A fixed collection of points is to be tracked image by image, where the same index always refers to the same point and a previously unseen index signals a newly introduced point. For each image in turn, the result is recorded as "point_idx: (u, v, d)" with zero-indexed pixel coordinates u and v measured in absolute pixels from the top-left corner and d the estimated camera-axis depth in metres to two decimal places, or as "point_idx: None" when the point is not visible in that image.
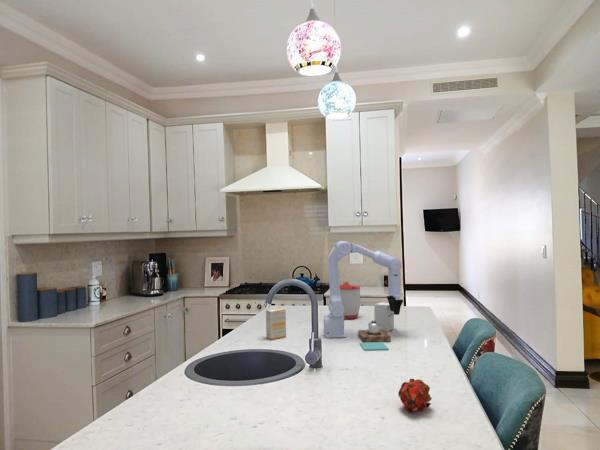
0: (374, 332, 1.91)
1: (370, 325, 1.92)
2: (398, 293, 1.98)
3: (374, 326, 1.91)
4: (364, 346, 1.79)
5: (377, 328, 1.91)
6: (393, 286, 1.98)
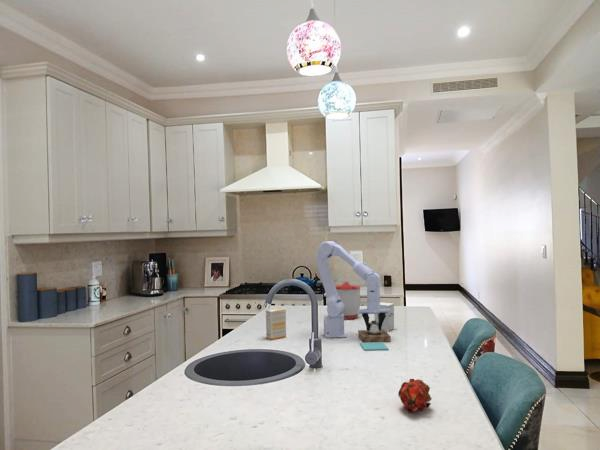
0: (374, 332, 1.91)
1: (370, 325, 1.92)
2: (368, 309, 1.92)
3: (374, 326, 1.91)
4: (364, 346, 1.79)
5: (377, 328, 1.91)
6: None
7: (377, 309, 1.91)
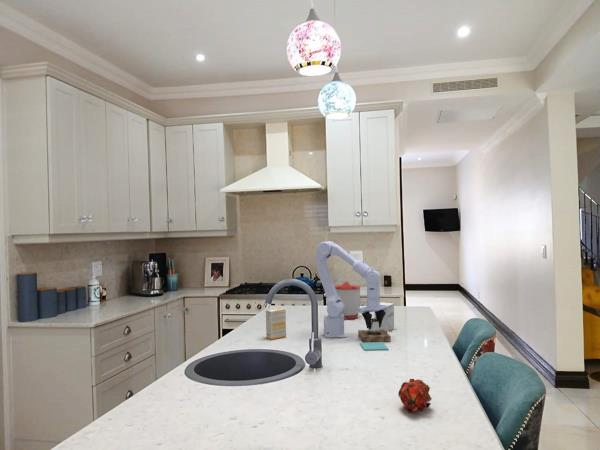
0: (376, 330, 1.91)
1: (372, 323, 1.91)
2: (370, 307, 1.91)
3: (376, 324, 1.91)
4: (364, 346, 1.79)
5: (378, 325, 1.92)
6: (367, 299, 1.93)
7: (379, 306, 1.91)
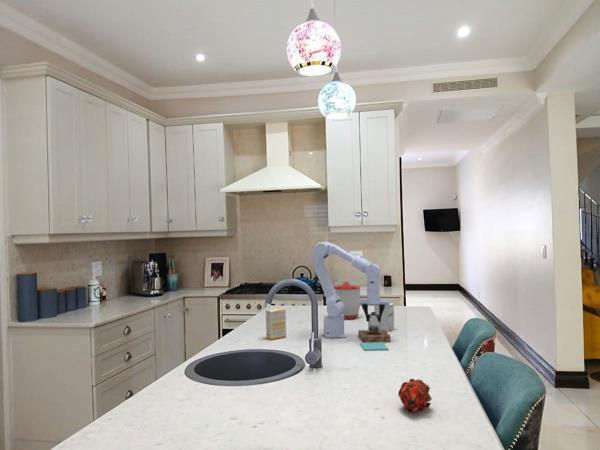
0: (372, 323, 1.91)
1: (369, 316, 1.92)
2: (367, 300, 1.93)
3: (372, 317, 1.91)
4: (364, 346, 1.79)
5: (376, 319, 1.91)
6: None
7: (376, 300, 1.91)
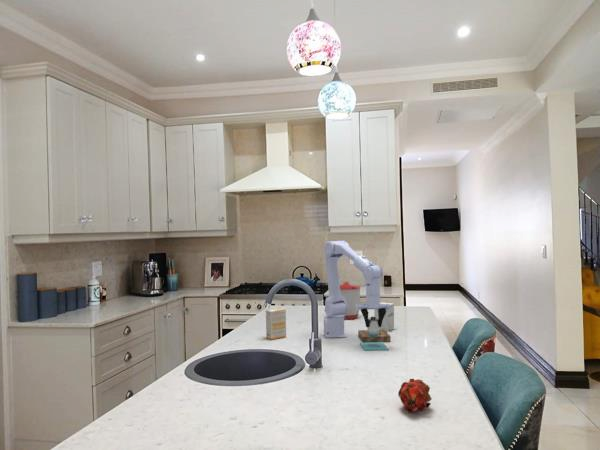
0: (373, 329, 1.78)
1: (369, 322, 1.79)
2: (367, 304, 1.79)
3: (373, 323, 1.78)
4: (364, 346, 1.79)
5: (376, 325, 1.78)
6: None
7: (377, 304, 1.78)
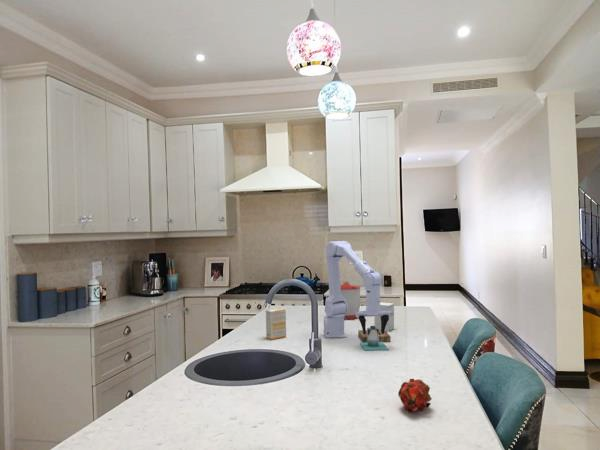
0: (372, 338, 1.78)
1: (369, 330, 1.79)
2: (367, 311, 1.79)
3: (373, 332, 1.78)
4: (364, 346, 1.79)
5: (376, 334, 1.79)
6: None
7: (377, 311, 1.78)
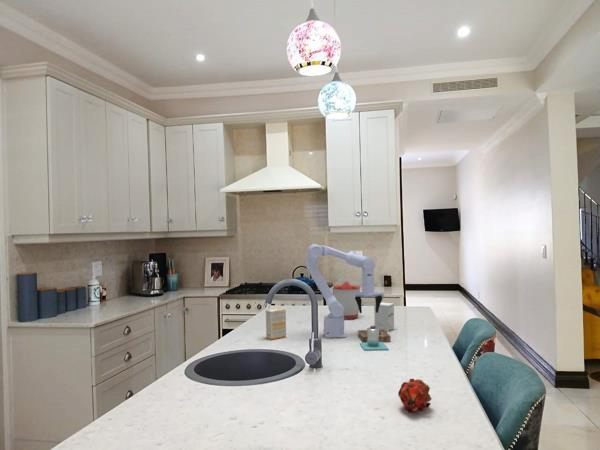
0: (373, 338, 1.78)
1: (369, 330, 1.79)
2: (363, 292, 1.99)
3: (373, 332, 1.78)
4: (364, 346, 1.79)
5: (376, 334, 1.79)
6: None
7: (372, 292, 1.97)
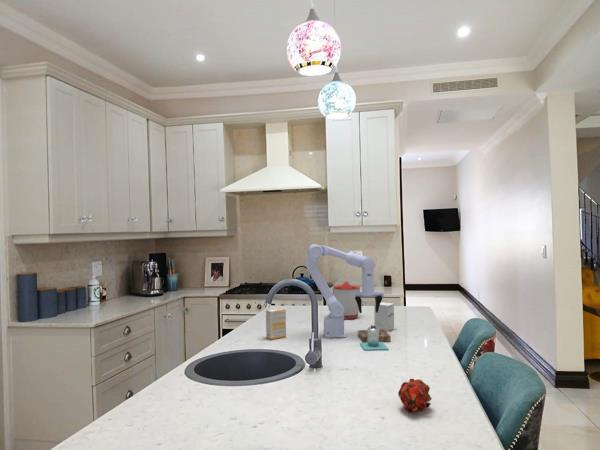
0: (372, 338, 1.78)
1: (369, 330, 1.79)
2: (363, 292, 1.99)
3: (373, 331, 1.78)
4: (364, 346, 1.79)
5: (376, 334, 1.79)
6: None
7: (371, 292, 1.98)
